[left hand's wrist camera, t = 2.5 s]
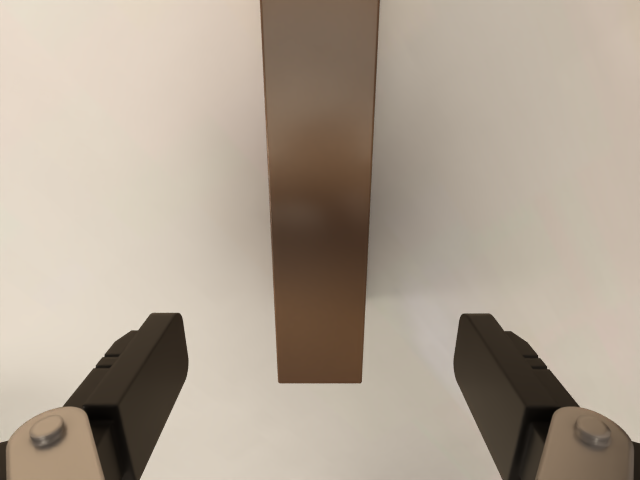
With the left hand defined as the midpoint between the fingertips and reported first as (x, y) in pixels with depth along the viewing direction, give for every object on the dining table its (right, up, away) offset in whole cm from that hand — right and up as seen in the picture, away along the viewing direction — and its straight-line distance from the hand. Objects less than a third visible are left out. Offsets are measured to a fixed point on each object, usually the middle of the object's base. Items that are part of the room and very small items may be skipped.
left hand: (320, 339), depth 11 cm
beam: (0, +24, +8) cm, 25 cm away
